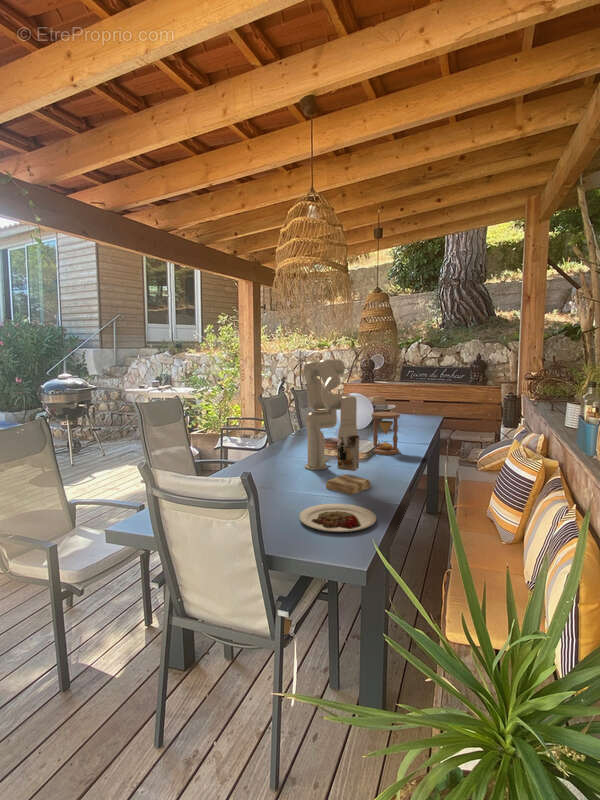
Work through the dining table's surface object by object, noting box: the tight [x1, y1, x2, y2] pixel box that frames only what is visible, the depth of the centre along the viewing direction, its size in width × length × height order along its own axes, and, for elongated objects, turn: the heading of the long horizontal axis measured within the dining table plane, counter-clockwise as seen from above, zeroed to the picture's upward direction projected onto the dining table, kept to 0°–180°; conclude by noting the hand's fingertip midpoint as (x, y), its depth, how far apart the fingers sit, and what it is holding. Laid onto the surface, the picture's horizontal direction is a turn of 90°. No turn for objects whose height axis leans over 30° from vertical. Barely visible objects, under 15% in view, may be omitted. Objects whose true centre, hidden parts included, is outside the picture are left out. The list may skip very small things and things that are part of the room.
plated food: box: [299, 503, 377, 533], centre depth 186 cm, size 30×30×3 cm
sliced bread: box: [325, 474, 371, 496], centre depth 228 cm, size 15×15×4 cm
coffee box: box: [337, 435, 360, 472], centre depth 226 cm, size 9×6×16 cm
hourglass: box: [371, 411, 400, 456], centre depth 304 cm, size 18×18×25 cm
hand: (348, 458), depth 227 cm, fingers closed on coffee box, 7 cm apart
